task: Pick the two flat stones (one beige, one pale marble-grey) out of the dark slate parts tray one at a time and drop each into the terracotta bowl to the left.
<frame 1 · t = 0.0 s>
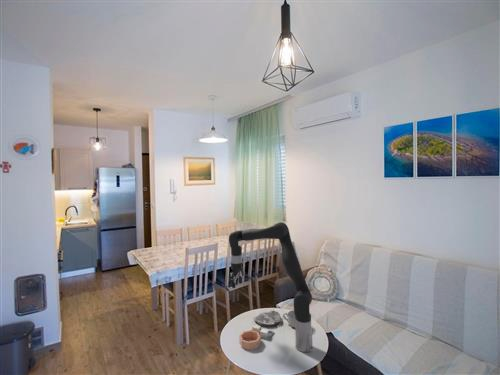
hand: (237, 285, 176), 29 cm above the table, fingers open, 8 cm apart
tray: (261, 334, 169), on the table
stone b: (264, 336, 166), resting on tray
bowl: (250, 343, 160), on the table
brain slice: (268, 321, 185), on the table
teacup: (293, 325, 179), on the table
stone a: (256, 332, 171), resting on tray
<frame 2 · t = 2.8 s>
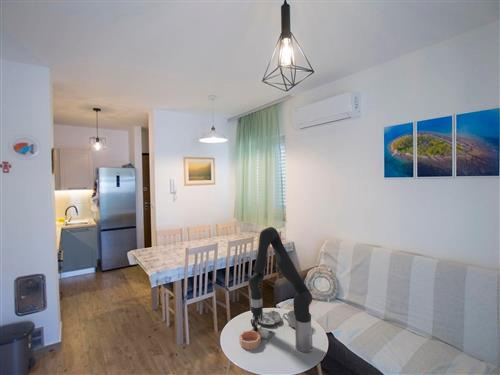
hand: (257, 329, 172), 1 cm above the table, fingers closed on stone a, 3 cm apart
stone a: (257, 331, 172), resting on tray, touching gripper
everything else where it was.
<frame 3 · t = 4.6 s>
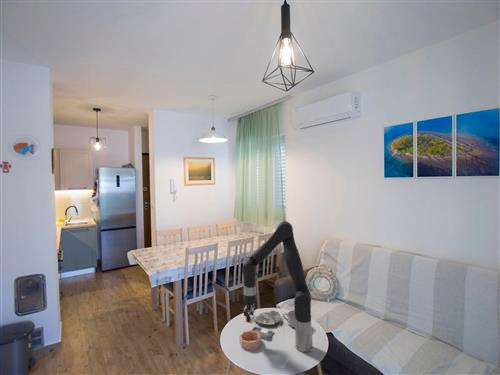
hand: (250, 320, 162), 13 cm above the table, fingers closed on stone a, 3 cm apart
stone a: (250, 321, 162), point 12 cm above the table, touching gripper
everything else where it was.
when the fingers open (5 cm above the table, at t = 6.0 s): stone a drops 4 cm, resting on bowl.
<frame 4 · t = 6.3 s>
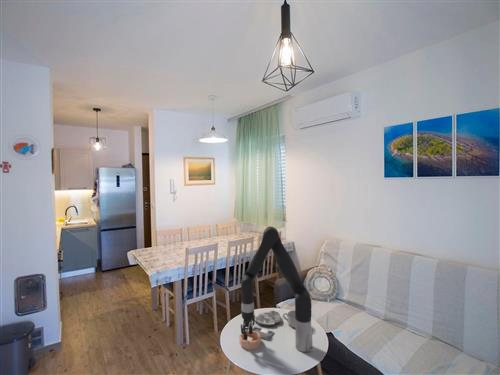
hand: (248, 336, 158), 6 cm above the table, fingers open, 6 cm apart
stone a: (248, 344, 158), point 1 cm above the table, touching bowl
everything else where it was.
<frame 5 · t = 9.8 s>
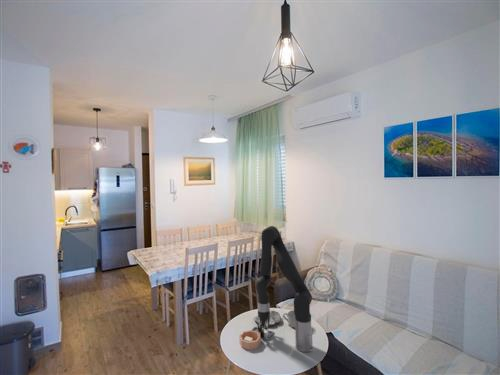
hand: (264, 335, 166), 1 cm above the table, fingers open, 4 cm apart
nothing on the table moved.
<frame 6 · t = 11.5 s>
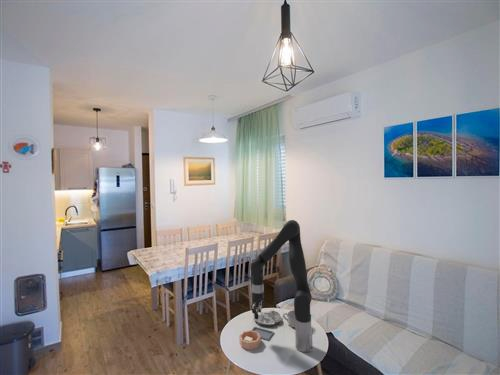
hand: (257, 317, 164), 14 cm above the table, fingers closed on stone b, 3 cm apart
stone b: (257, 318, 164), point 13 cm above the table, touching gripper
everything else where it was.
when the fingers open (5 cm above the table, at t = 13.0 s): stone b drops 4 cm, resting on bowl.
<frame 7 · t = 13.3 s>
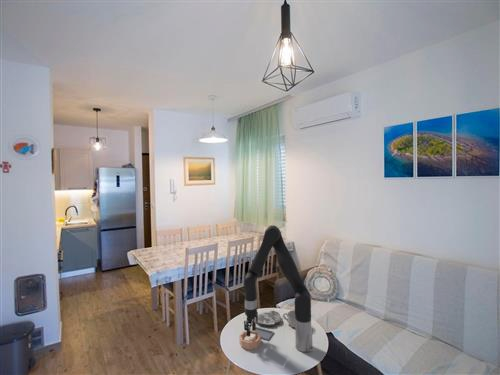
hand: (251, 332, 161), 6 cm above the table, fingers open, 6 cm apart
stone b: (251, 341, 161), point 1 cm above the table, touching bowl
everything else where it was.
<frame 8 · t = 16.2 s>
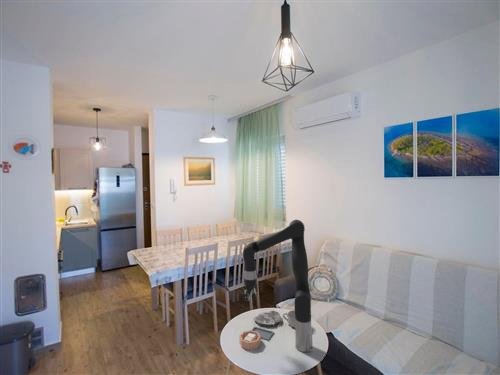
hand: (250, 303, 161), 24 cm above the table, fingers open, 8 cm apart
nothing on the table moved.
at the end: stone a inside the target area on the bowl (2.0 cm from its centre), point 0.6 cm above the bowl's base; stone b inside the target area on the bowl (1.9 cm from its centre), point 0.6 cm above the bowl's base; the gripper is holding nothing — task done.
